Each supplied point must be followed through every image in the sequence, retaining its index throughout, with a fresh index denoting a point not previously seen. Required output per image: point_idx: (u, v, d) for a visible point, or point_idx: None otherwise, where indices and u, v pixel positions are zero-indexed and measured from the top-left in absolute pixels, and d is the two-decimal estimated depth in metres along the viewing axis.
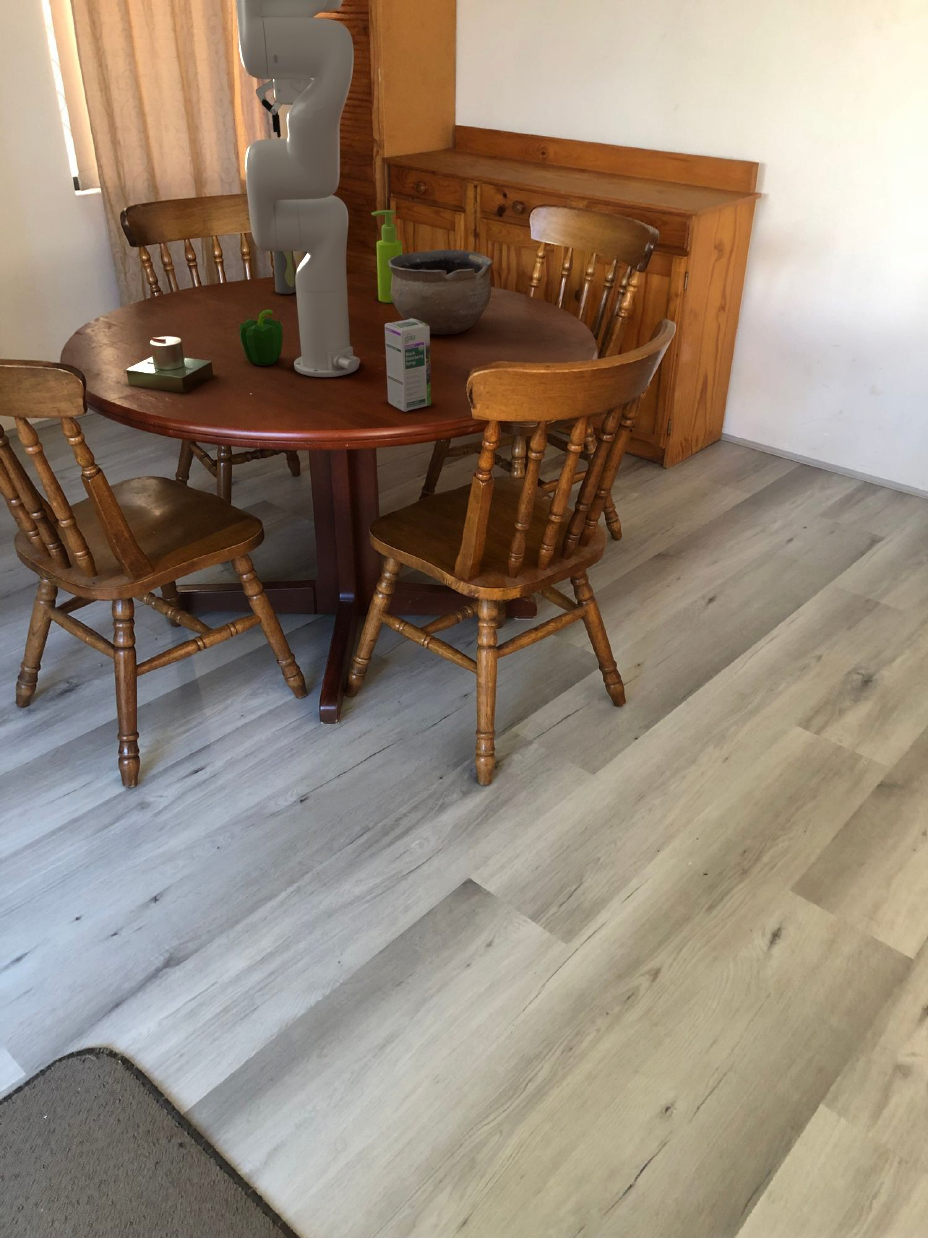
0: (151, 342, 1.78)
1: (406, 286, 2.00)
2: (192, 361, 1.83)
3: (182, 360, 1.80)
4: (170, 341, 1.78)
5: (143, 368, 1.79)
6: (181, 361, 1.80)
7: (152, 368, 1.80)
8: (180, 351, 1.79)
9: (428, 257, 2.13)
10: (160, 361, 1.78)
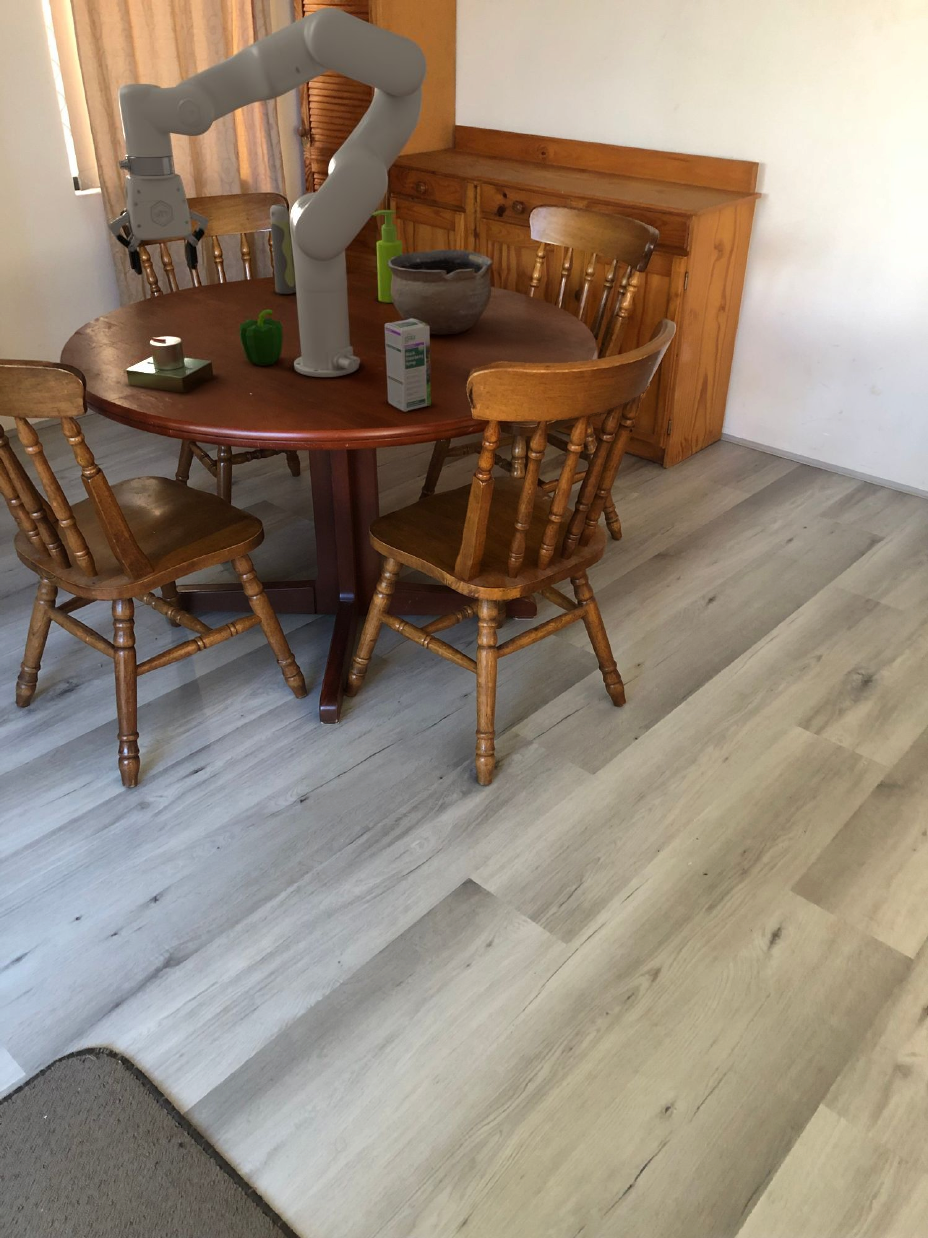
0: (151, 342, 1.78)
1: (406, 286, 2.00)
2: (192, 361, 1.83)
3: (182, 360, 1.80)
4: (170, 341, 1.78)
5: (143, 368, 1.79)
6: (181, 361, 1.80)
7: (152, 368, 1.80)
8: (180, 351, 1.79)
9: (428, 257, 2.13)
10: (160, 361, 1.78)
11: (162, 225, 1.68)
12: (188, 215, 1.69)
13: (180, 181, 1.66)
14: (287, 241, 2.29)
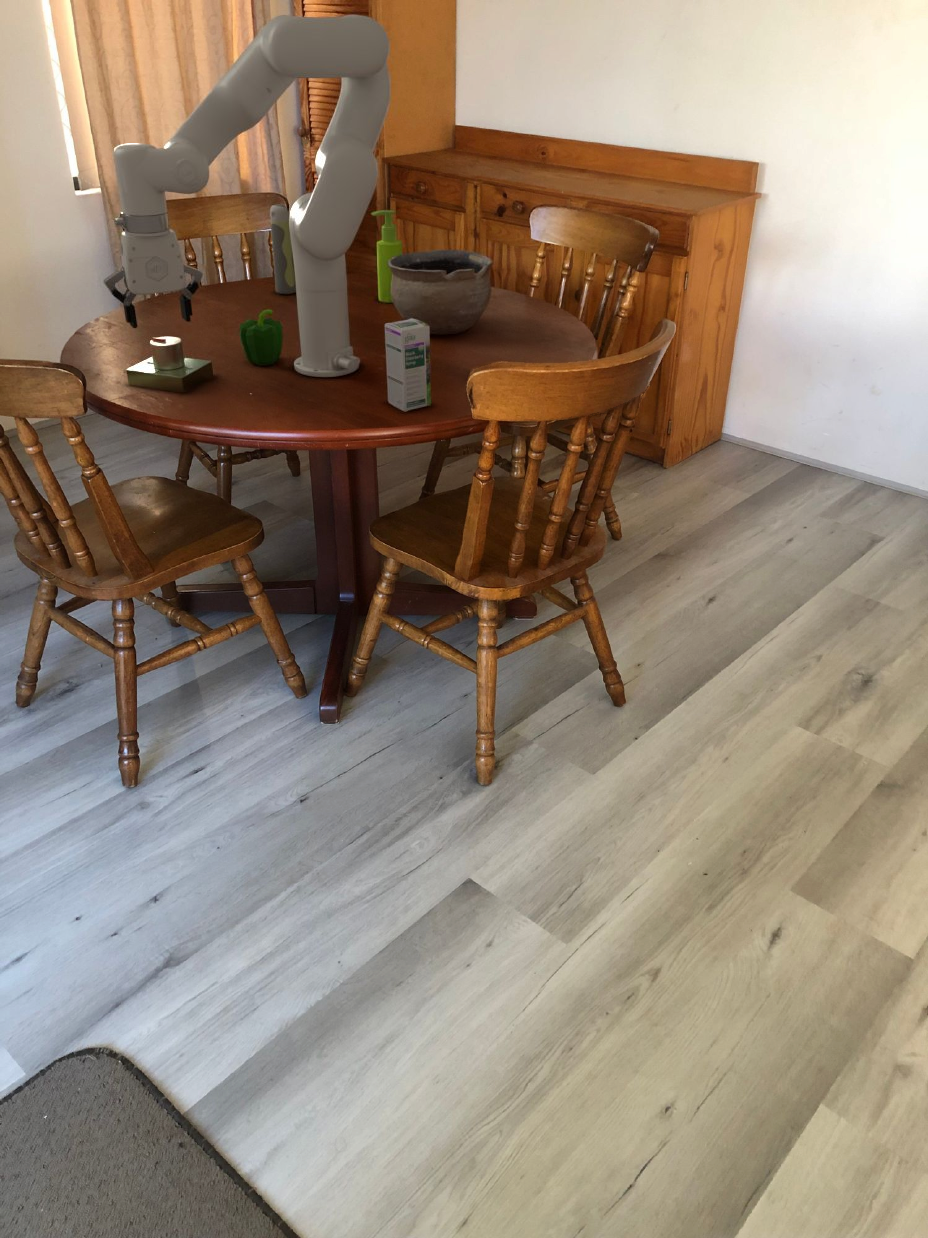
0: (151, 342, 1.78)
1: (406, 286, 2.00)
2: (192, 361, 1.83)
3: (182, 360, 1.80)
4: (170, 341, 1.78)
5: (143, 368, 1.79)
6: (181, 361, 1.80)
7: (152, 368, 1.80)
8: (180, 351, 1.79)
9: (428, 257, 2.13)
10: (160, 361, 1.78)
11: (157, 280, 1.70)
12: (182, 270, 1.72)
13: (175, 237, 1.69)
14: (287, 241, 2.29)
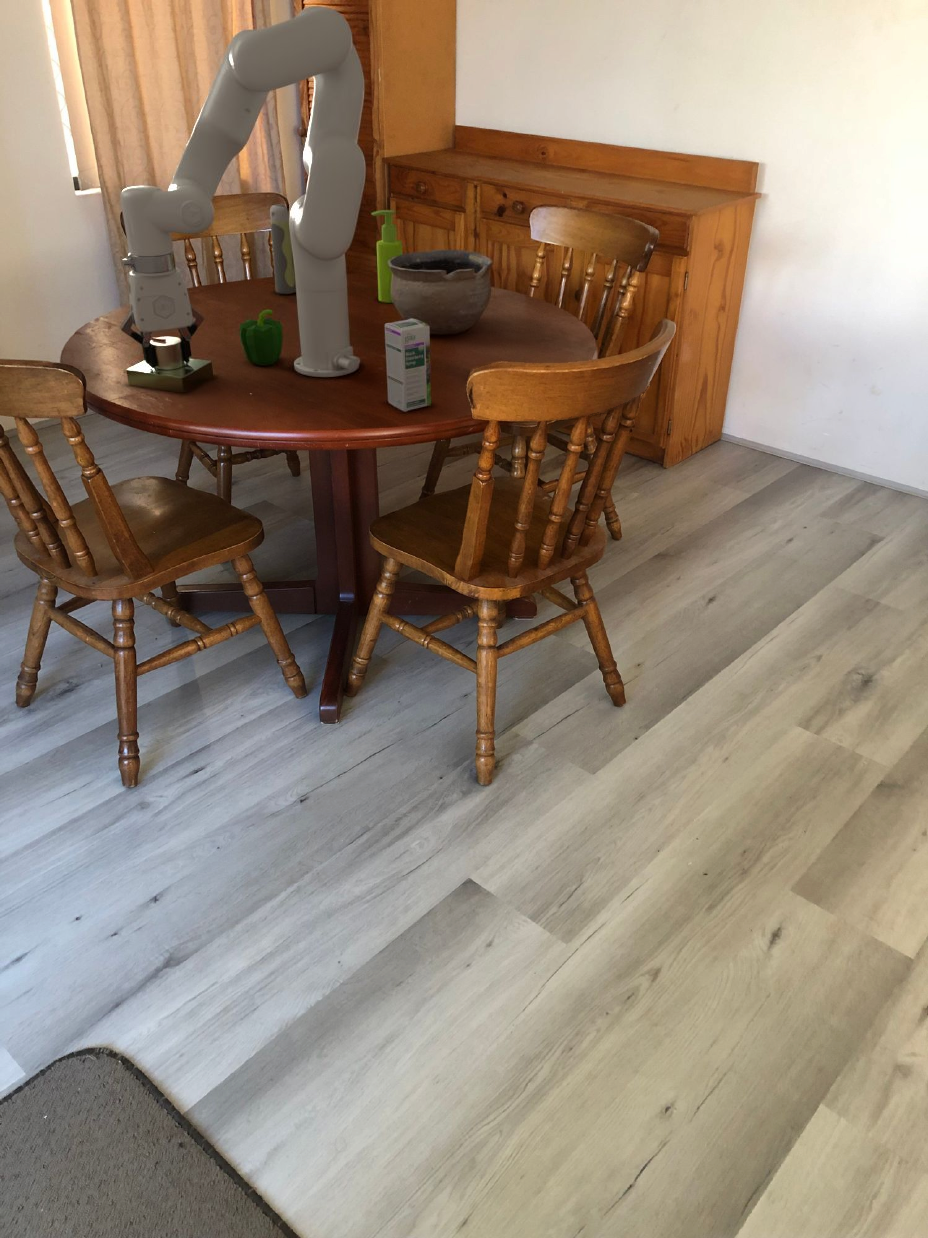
0: (151, 342, 1.78)
1: (406, 286, 2.00)
2: (192, 361, 1.83)
3: (182, 360, 1.80)
4: (170, 341, 1.78)
5: (143, 368, 1.79)
6: (181, 361, 1.80)
7: (152, 368, 1.80)
8: (180, 351, 1.79)
9: (428, 257, 2.13)
10: (160, 361, 1.78)
11: (164, 318, 1.74)
12: (189, 307, 1.75)
13: (181, 275, 1.72)
14: (287, 241, 2.29)
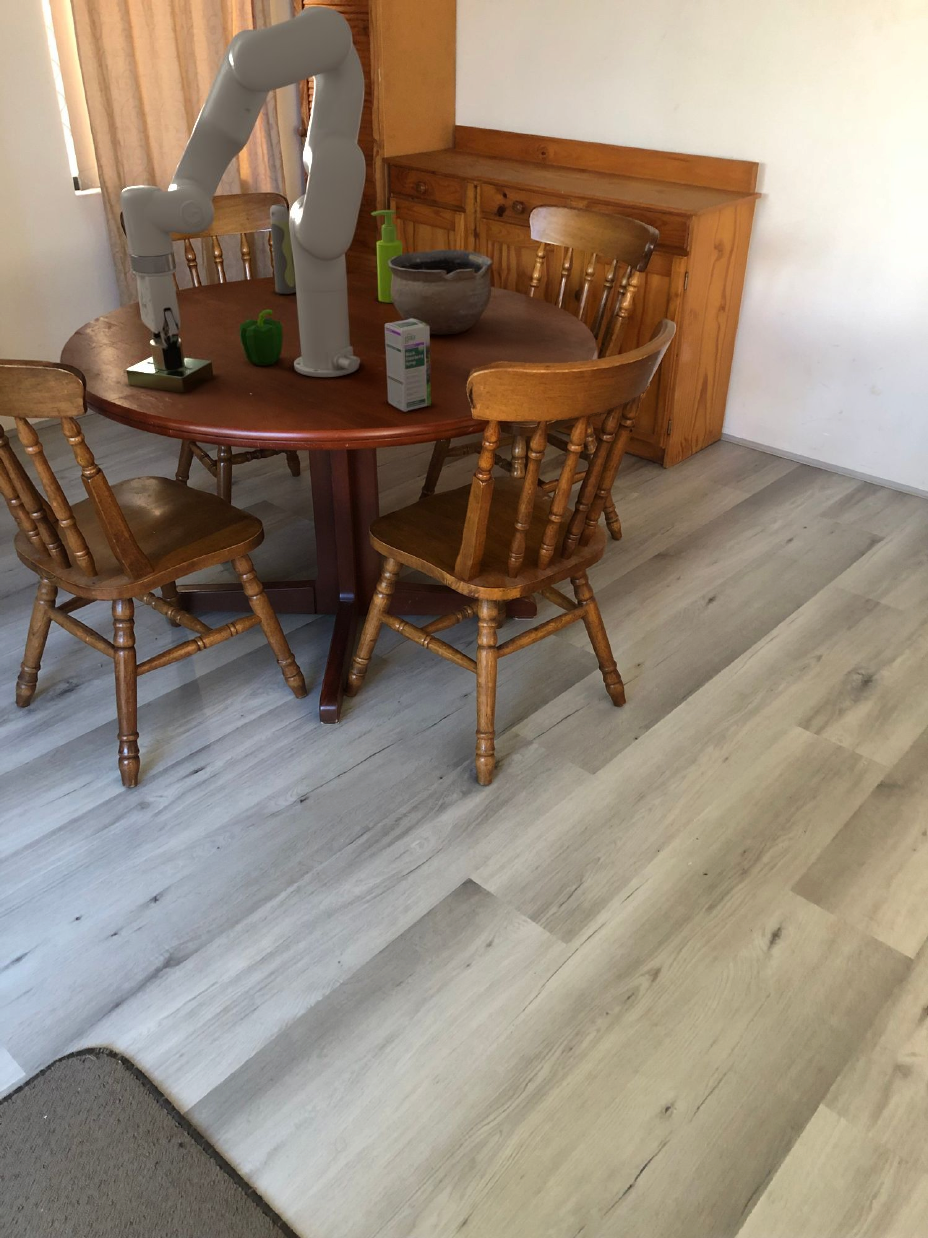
0: None
1: (406, 286, 2.00)
2: (192, 361, 1.83)
3: (162, 364, 1.78)
4: (161, 342, 1.78)
5: (143, 368, 1.79)
6: (160, 364, 1.78)
7: (152, 368, 1.80)
8: (159, 354, 1.77)
9: (428, 257, 2.13)
10: None
11: (145, 315, 1.75)
12: (153, 315, 1.71)
13: (149, 282, 1.68)
14: (287, 241, 2.29)
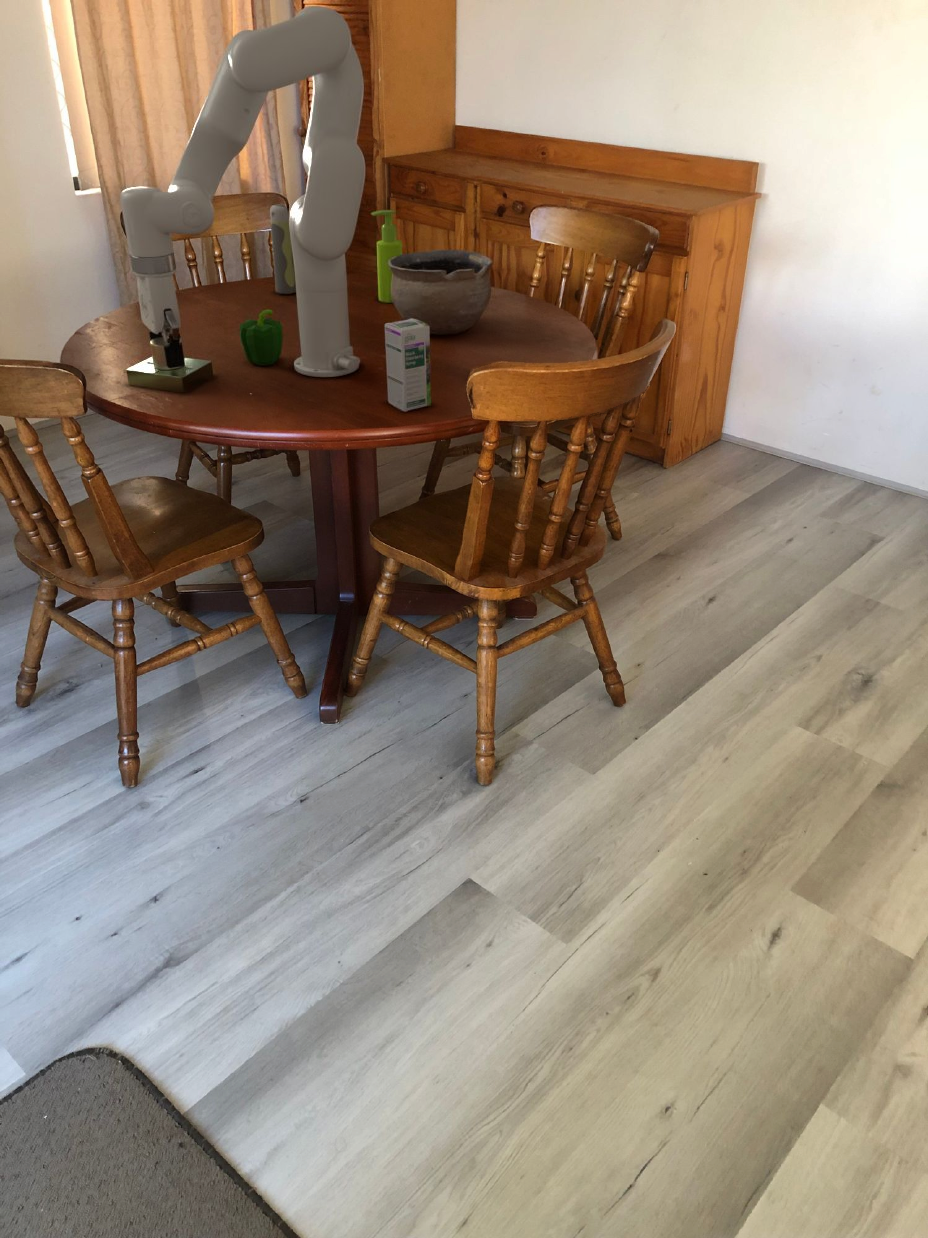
0: None
1: (406, 286, 2.00)
2: (192, 361, 1.83)
3: (161, 364, 1.78)
4: (161, 342, 1.78)
5: (143, 368, 1.79)
6: (160, 364, 1.78)
7: (152, 368, 1.80)
8: (159, 354, 1.77)
9: (428, 257, 2.13)
10: None
11: (145, 316, 1.75)
12: (153, 316, 1.71)
13: (149, 283, 1.68)
14: (287, 241, 2.29)
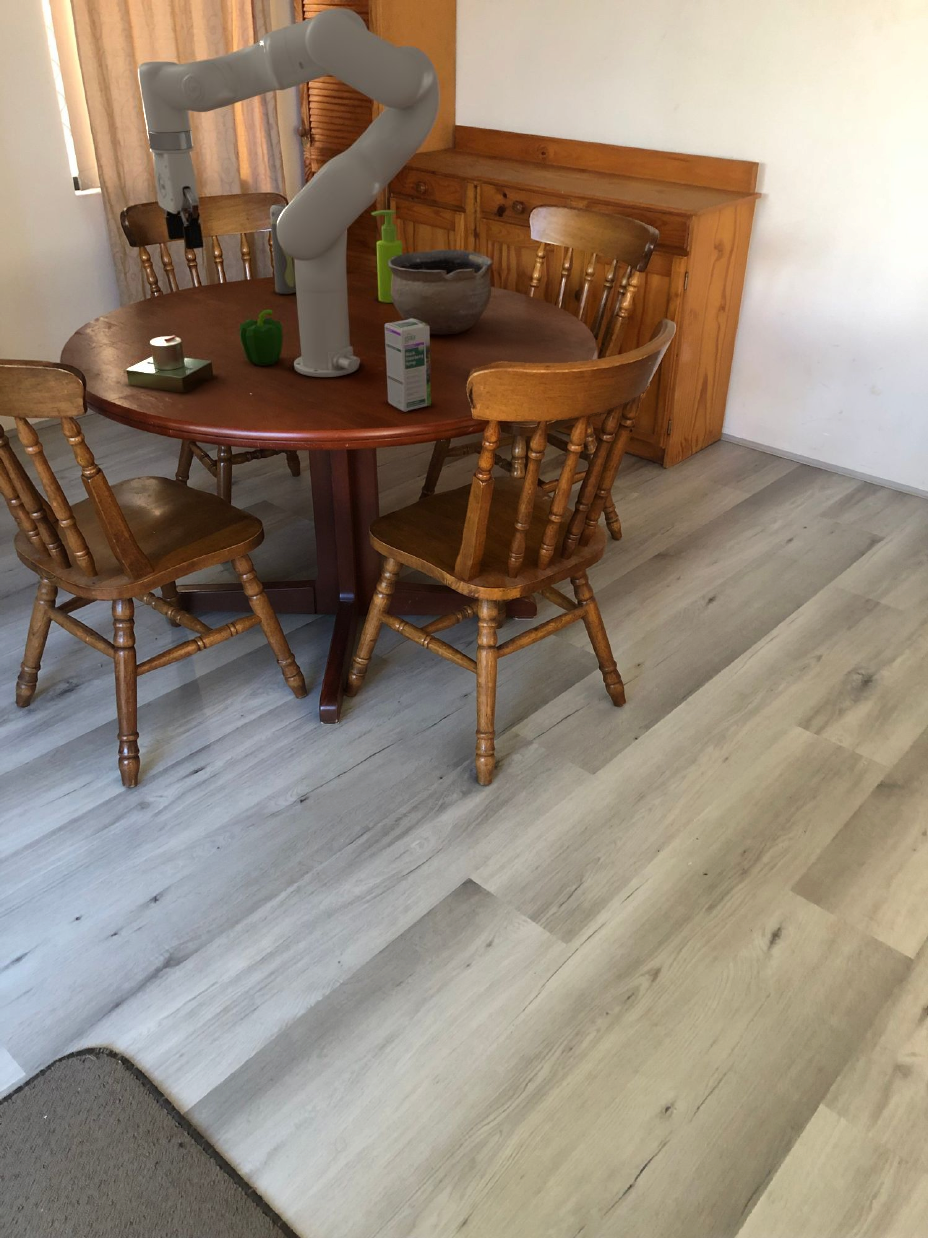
0: (164, 337, 1.81)
1: (406, 286, 2.00)
2: (192, 361, 1.83)
3: (161, 364, 1.78)
4: (161, 342, 1.78)
5: (143, 368, 1.79)
6: (160, 364, 1.78)
7: (152, 368, 1.80)
8: (159, 354, 1.77)
9: (428, 257, 2.13)
10: None
11: (163, 197, 1.75)
12: (172, 193, 1.71)
13: (168, 159, 1.69)
14: None
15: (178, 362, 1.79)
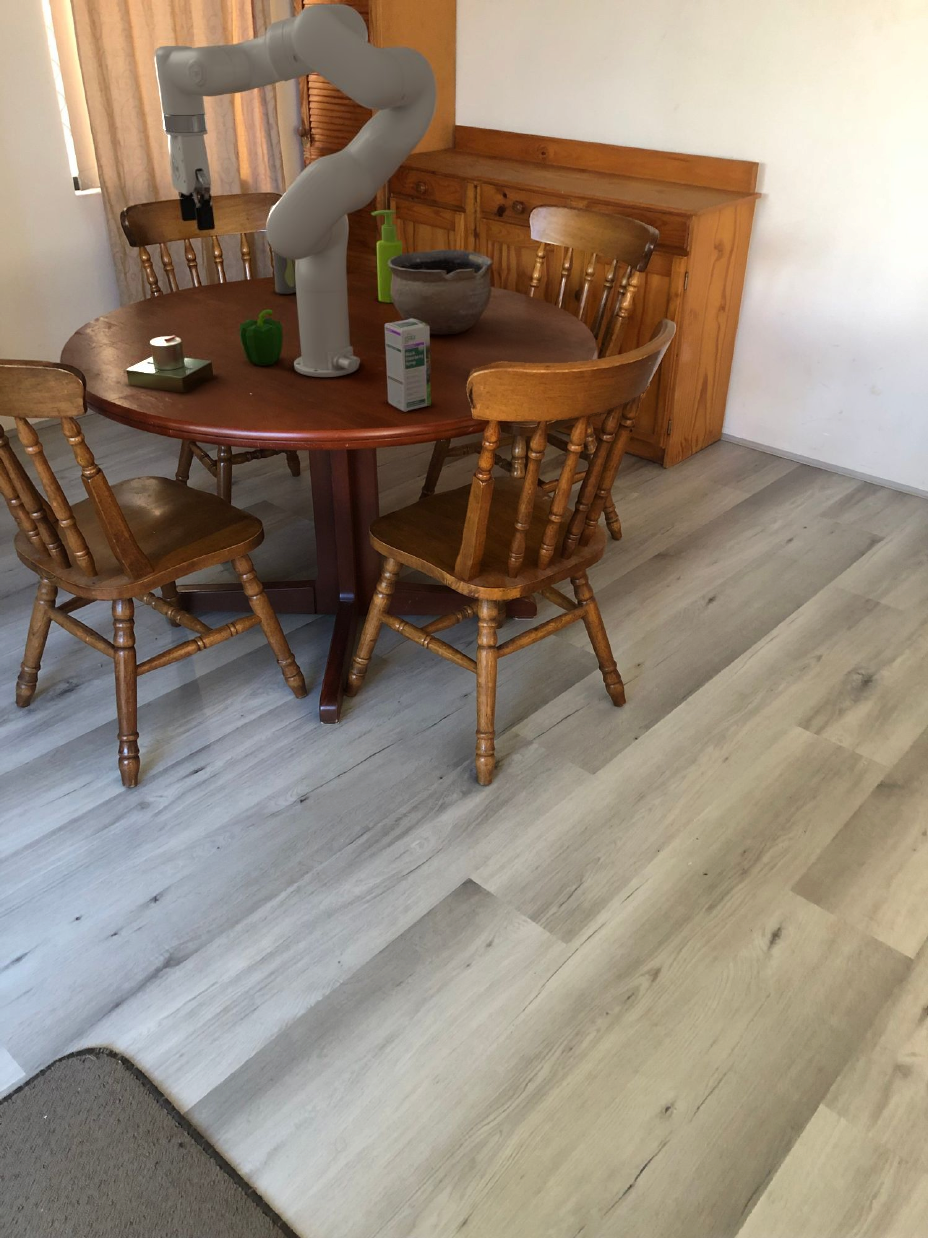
0: (164, 337, 1.81)
1: (406, 286, 2.00)
2: (192, 361, 1.83)
3: (161, 364, 1.78)
4: (161, 342, 1.78)
5: (143, 368, 1.79)
6: (160, 364, 1.78)
7: (152, 368, 1.80)
8: (159, 354, 1.77)
9: (428, 257, 2.13)
10: None
11: (177, 179, 1.79)
12: (185, 175, 1.75)
13: (181, 141, 1.73)
14: None
15: (178, 362, 1.79)
